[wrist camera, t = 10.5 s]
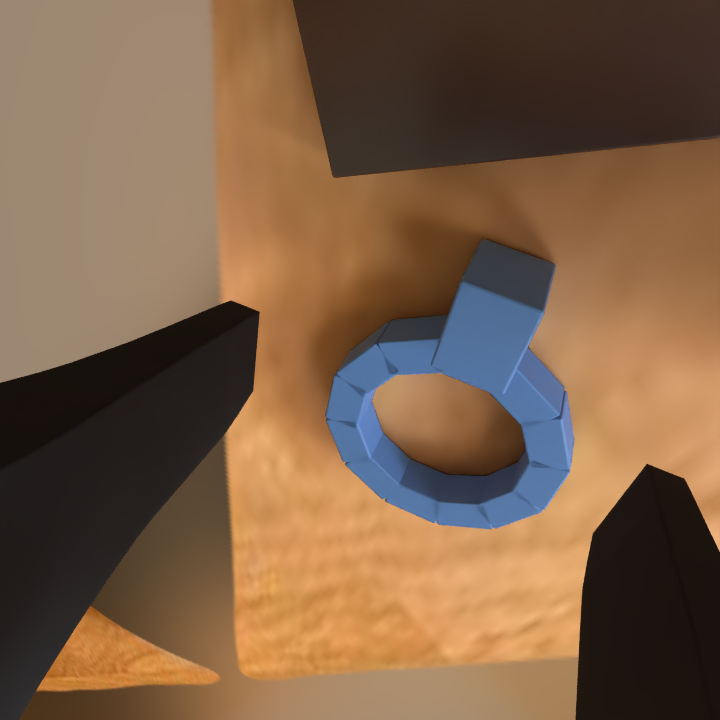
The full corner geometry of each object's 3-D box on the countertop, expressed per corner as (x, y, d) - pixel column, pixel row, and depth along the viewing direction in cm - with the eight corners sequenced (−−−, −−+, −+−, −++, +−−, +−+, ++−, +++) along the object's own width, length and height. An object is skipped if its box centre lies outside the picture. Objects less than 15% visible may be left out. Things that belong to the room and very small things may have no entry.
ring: (518, 528, 25) (506, 588, 23) (327, 445, 26) (298, 493, 24) (665, 302, 17) (669, 358, 15) (384, 202, 19) (350, 239, 16)
